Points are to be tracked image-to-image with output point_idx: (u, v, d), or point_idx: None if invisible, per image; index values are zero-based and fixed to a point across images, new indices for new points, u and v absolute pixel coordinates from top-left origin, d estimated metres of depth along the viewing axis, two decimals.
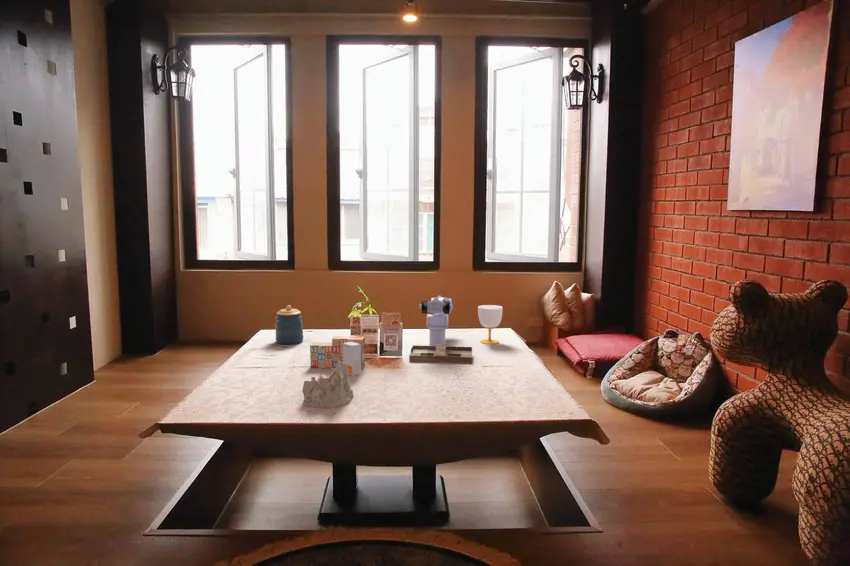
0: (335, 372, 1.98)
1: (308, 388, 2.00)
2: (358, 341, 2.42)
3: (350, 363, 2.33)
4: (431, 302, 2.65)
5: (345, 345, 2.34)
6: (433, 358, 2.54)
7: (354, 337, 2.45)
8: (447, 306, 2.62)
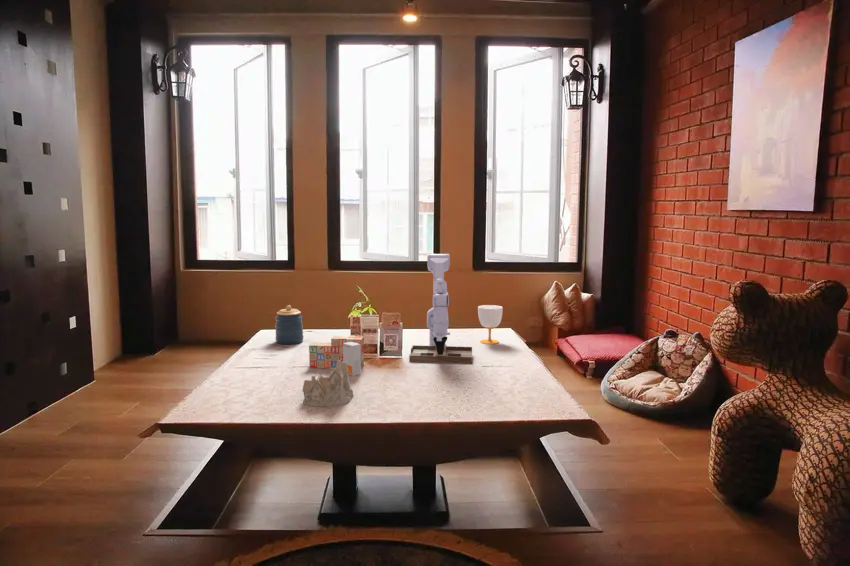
0: (335, 371, 1.99)
1: (308, 387, 2.00)
2: (357, 341, 2.42)
3: (350, 363, 2.33)
4: None
5: (345, 345, 2.34)
6: (433, 358, 2.54)
7: (353, 337, 2.45)
8: None
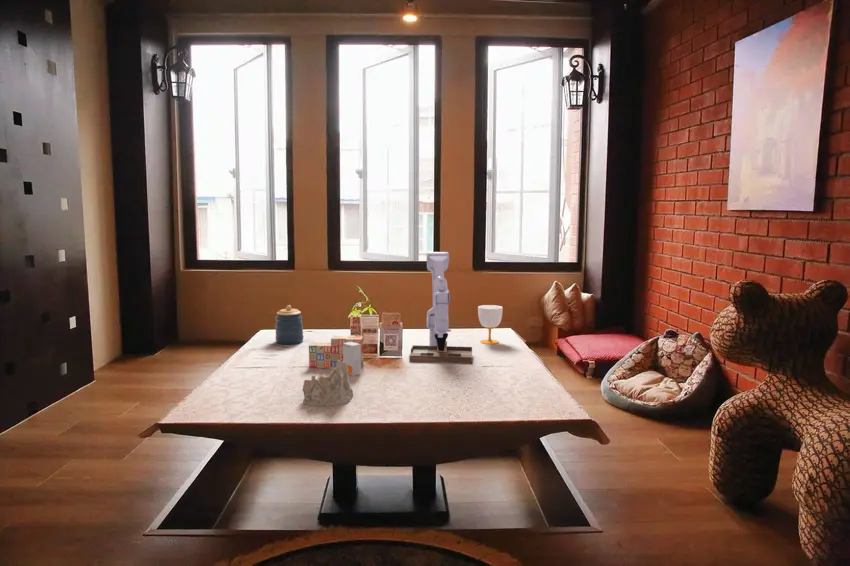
0: (335, 371, 1.99)
1: (308, 387, 2.01)
2: (357, 341, 2.42)
3: (350, 363, 2.33)
4: None
5: (345, 345, 2.34)
6: (433, 358, 2.54)
7: (353, 337, 2.45)
8: None
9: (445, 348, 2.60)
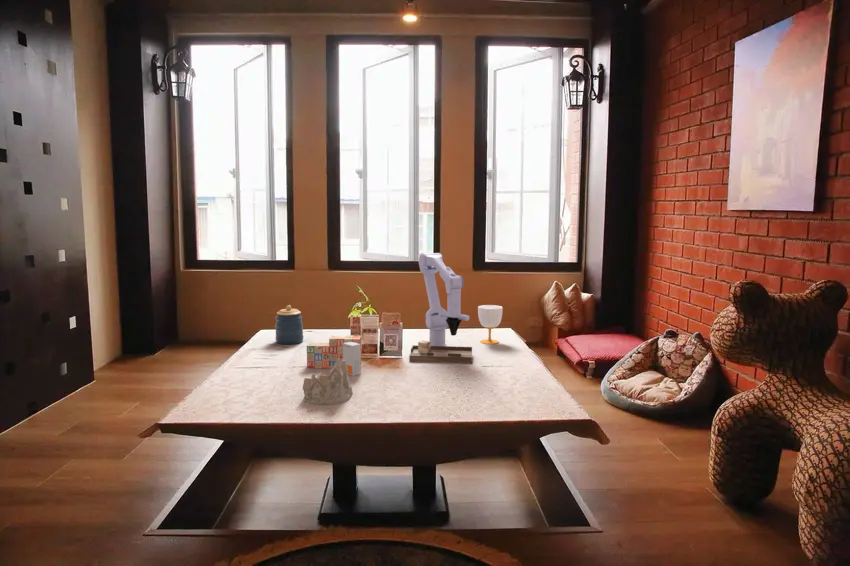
0: (335, 369, 2.01)
1: (308, 385, 2.03)
2: (355, 341, 2.42)
3: (350, 363, 2.33)
4: None
5: (345, 345, 2.34)
6: (433, 358, 2.54)
7: (351, 337, 2.45)
8: None
9: (425, 348, 2.60)
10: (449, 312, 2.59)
